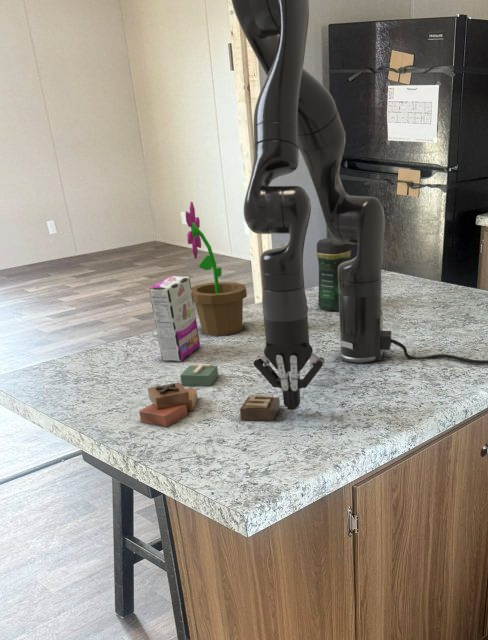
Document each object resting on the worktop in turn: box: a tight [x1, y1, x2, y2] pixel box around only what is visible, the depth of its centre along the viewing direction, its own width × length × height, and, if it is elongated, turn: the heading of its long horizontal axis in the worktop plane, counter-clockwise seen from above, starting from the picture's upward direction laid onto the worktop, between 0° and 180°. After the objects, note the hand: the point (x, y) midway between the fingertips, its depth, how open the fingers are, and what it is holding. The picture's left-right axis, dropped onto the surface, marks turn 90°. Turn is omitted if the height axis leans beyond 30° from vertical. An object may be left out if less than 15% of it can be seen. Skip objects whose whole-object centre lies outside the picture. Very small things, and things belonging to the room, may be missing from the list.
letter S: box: [239, 394, 281, 422], centre depth 129 cm, size 6×6×3 cm
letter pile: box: [138, 381, 198, 428], centre depth 130 cm, size 8×14×5 cm, turn 174°
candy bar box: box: [148, 275, 201, 363], centre depth 158 cm, size 11×5×16 cm, turn 168°
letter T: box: [180, 363, 219, 387], centre depth 146 cm, size 6×6×3 cm
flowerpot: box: [185, 201, 248, 337], centre depth 171 cm, size 14×14×30 cm
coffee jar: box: [316, 236, 352, 312], centre depth 191 cm, size 10×8×19 cm
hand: (292, 408), depth 129 cm, fingers closed
